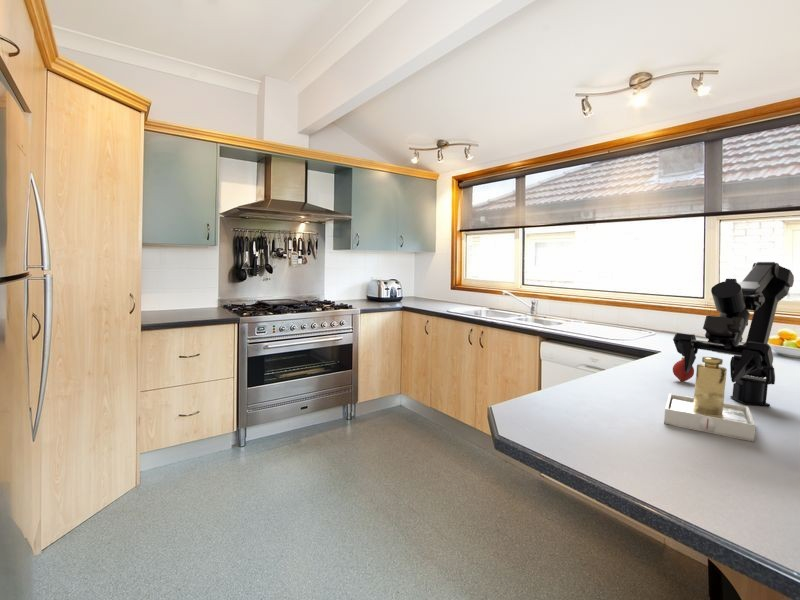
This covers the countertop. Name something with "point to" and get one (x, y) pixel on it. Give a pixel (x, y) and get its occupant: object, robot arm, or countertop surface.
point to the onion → (682, 371)
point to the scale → (710, 421)
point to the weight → (710, 386)
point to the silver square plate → (727, 414)
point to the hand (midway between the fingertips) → (708, 376)
